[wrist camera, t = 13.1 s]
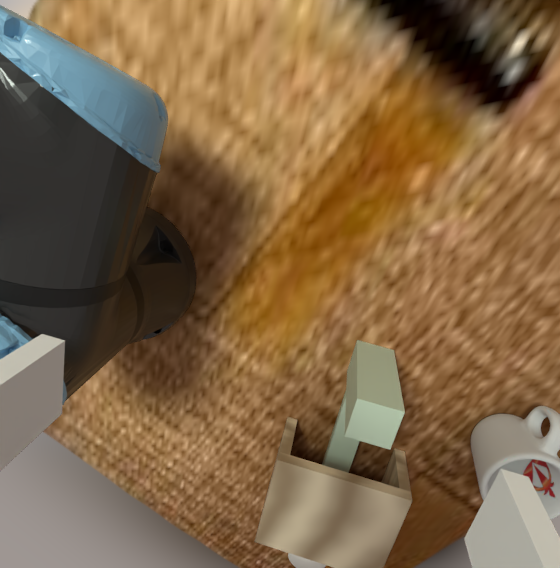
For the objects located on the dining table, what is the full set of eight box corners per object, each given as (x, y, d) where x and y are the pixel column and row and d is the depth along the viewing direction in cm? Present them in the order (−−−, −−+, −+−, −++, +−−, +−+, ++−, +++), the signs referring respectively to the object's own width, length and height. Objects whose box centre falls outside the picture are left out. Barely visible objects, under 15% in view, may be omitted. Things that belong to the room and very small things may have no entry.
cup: (502, 370, 44) (531, 418, 36) (573, 403, 44) (618, 457, 36) (447, 445, 48) (464, 502, 40) (512, 475, 48) (542, 538, 40)
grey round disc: (289, 550, 57) (286, 567, 55) (292, 523, 55) (290, 539, 53) (326, 558, 56) (325, 575, 54) (330, 530, 55) (329, 548, 52)
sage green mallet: (310, 486, 53) (299, 569, 43) (357, 340, 45) (357, 398, 35) (341, 495, 52) (338, 582, 42) (393, 350, 45) (404, 412, 35)
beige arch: (267, 492, 54) (254, 541, 48) (287, 416, 50) (277, 459, 43) (374, 525, 53) (377, 581, 46) (404, 451, 49) (412, 501, 42)
